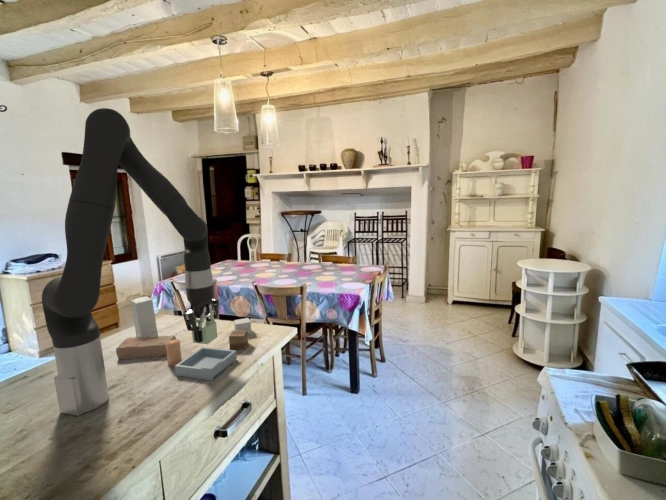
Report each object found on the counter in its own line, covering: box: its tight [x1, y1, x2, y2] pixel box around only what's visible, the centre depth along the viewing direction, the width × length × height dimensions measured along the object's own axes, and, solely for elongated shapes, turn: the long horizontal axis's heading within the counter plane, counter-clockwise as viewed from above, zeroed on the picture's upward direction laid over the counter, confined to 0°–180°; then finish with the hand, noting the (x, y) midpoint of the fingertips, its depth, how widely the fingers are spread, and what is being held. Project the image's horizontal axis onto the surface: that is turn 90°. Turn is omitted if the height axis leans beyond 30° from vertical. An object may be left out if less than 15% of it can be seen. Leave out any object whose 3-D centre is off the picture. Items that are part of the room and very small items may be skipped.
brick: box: [115, 334, 177, 360], centre depth 112 cm, size 17×8×5 cm, turn 99°
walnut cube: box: [228, 329, 249, 351], centre depth 114 cm, size 5×5×5 cm
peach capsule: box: [166, 338, 183, 367], centre depth 103 cm, size 4×4×7 cm
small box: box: [233, 317, 252, 335], centre depth 126 cm, size 6×6×5 cm
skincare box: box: [130, 296, 159, 338], centre depth 124 cm, size 8×6×15 cm
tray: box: [174, 346, 237, 381], centre depth 100 cm, size 13×13×3 cm
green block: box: [191, 320, 218, 345], centre depth 99 cm, size 5×5×5 cm
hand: (205, 337), depth 99 cm, fingers closed on green block, 5 cm apart
